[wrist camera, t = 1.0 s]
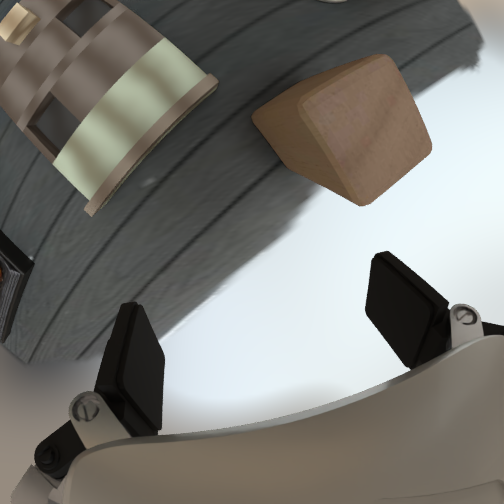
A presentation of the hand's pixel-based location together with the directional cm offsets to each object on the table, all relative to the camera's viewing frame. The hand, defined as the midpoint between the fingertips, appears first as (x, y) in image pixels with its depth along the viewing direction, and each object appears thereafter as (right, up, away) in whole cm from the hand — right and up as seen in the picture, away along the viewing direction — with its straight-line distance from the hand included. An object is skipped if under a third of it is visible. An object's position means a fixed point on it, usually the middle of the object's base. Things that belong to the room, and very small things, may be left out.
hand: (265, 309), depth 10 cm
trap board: (-26, +29, +14) cm, 41 cm away
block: (+6, +20, +24) cm, 32 cm away
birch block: (-34, +36, +5) cm, 50 cm away
